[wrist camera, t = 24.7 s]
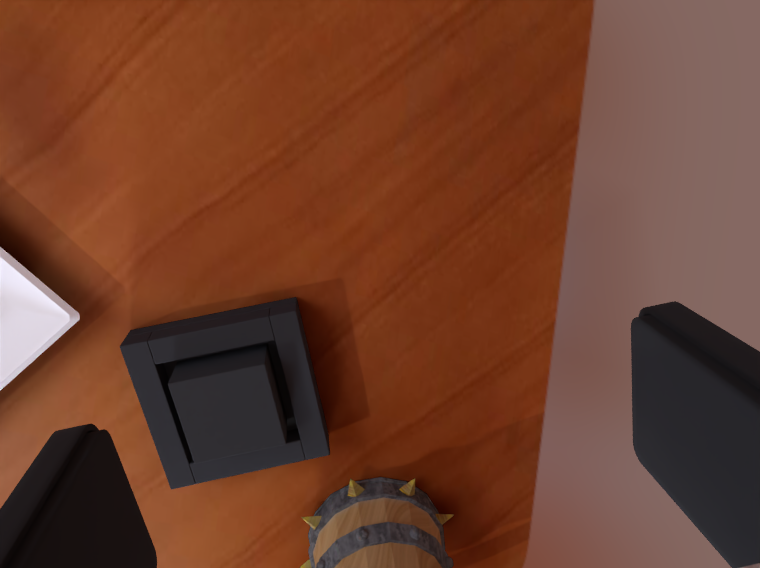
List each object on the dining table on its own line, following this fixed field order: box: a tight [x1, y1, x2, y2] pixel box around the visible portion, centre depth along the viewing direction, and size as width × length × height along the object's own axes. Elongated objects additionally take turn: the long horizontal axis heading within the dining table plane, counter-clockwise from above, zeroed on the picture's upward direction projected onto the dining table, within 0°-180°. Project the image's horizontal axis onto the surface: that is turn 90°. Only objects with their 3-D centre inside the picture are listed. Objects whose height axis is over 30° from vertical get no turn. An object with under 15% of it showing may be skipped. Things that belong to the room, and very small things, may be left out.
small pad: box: [168, 344, 287, 464], centre depth 38 cm, size 6×6×3 cm
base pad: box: [120, 297, 330, 489], centre depth 40 cm, size 11×11×2 cm
